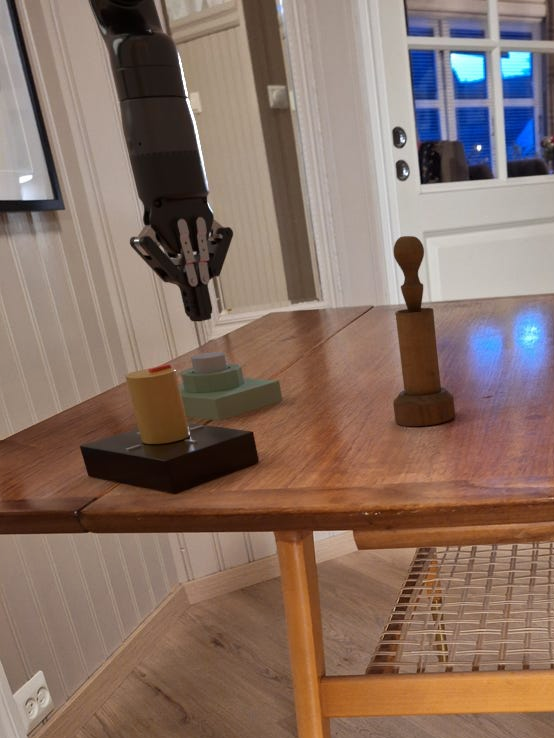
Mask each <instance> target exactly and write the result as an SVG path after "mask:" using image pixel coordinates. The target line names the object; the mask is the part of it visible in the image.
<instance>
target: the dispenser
mask: <svg viewBox="0 0 554 738" xmlns="http://www.w3.org/2000/svg"><path fill="white" fill-rule="evenodd" d="M227 365H228V369H227V370H223V371H220V372H213V373H202V374H198V373H194V370H193V367H190V368H187V369H185V370H183V371H181V372H180V376H181V381H182V383H179V387H180V391H181V396H182V400H183V404H184V409H185V413H186V417H187V418H196V419H202V420H211V421H218V422H220V421H223V420H227V419H230V418H233V417H236V416H239V415H243V414H246V413H249V412H252V411H255V410H258V409H259V410H260V409H261V408H265V407H269V406H271V405H274V404H277V403H281V402H283V395H282V390H281V383H280V381H279V380H275V379H263V378H252V377H244V374H243V369H242V366H241V365H240V364H238V363H227Z"/></svg>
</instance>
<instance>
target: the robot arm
mask: <svg viewBox="0 0 554 738" xmlns="http://www.w3.org/2000/svg"><path fill="white" fill-rule="evenodd" d="M87 1H88V4H89V7H90V10H91V12H92V15H93V17H94V20H95V22H96V26H97V28H98V30H99V31H98V32H99V33H100V36H101V39H102V40H103V42H104V44H105V47H106V49H107V53H108V56H109V64H110V69H111V73H112V77H113V82H114V87H115V90H116V94H117V100H118V102H119V108H120V109H119V110H120V118H121V126H122V127H121V128H122V132H123V137H124V141H125V146H126V149H127V150H126V151H127V154H128V159H129V162H130V166H131V167H130V168H131V172H132V174H133V176H132V177H133V179H134V184H135V189H136V193H137V196H138V199H139V200H140V201H141V204H142V206H143V214H142V215H143V216H142V222H143V225H144V226H143V228H142V229H141V231H140V232H139V233H138V236H131V237H130V239H129V245H130V247H131V248H132V249H133V250H134V251H135V253H136V254H137V255H138V256H139V257H140V258H142V260H143V261H144V262H145V263H146V264H147V265H148V266H149V267H150V269H151V270H152V271H153V272H154V273H155V275H156V276H158V277H159V279H160V280H162V282H164V283H168V284H173V285H176V286H177V287H178V288H179V291H180V295H181V299H182V303H183V308H184V313H185V315H186V317H188V319H189V320H190V322H204V321H209V320H211V319H212V314H213V304H212V299H211V295H210V290H209V283H210V281H211V280H212V279H213V278H214V277H215V278H217V277H219V276H220V275H221V273H222V269H223V266H224V264H225V260H226V258H227V255H228V251H229V248H230V245H231V244H232V240H233V237H234V231H233V229H232V227H229V226H223V225H222V224H220V223H219V222H218V221H216V219H215V215H214V211H213V209H212V208H211V207H210V205H209V202H208V196H209V194H210V188H209V183H208V178H207V171H206V168H205V163H204V157H203V153H202V152H203V151H202V147H201V142H200V136H199V133H198V128H197V123H196V120H195V116H194V113H193V109H192V108H191V103H190V99H189V94H188V89H187V84H186V80H185V75H184V70H183V64H182V60H181V56H180V52H179V49H178V46H177V44H176V42H175V40H174V38H173V37H172V36H171V35H169V34H168V33H166V32H164V30H163V26H162V23H161V19H160V16H159V11H158V9H157V5H156V1H155V0H87ZM162 249H163V250H162ZM194 253H195V254H194Z"/></svg>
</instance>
